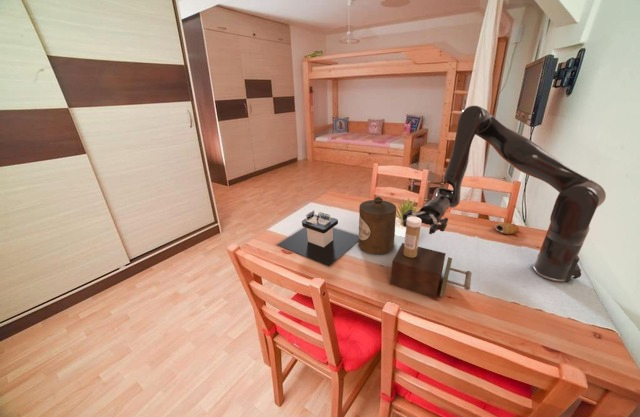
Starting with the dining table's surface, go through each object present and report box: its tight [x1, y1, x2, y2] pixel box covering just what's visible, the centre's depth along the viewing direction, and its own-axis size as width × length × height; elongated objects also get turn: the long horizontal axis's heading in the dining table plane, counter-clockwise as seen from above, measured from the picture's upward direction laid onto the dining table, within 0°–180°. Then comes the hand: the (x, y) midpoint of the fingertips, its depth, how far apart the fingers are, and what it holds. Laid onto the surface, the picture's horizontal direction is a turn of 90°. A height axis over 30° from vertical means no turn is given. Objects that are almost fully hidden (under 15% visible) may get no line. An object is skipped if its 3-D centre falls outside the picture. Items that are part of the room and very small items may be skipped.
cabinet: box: [389, 242, 447, 299], centre depth 89 cm, size 15×13×10 cm
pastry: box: [493, 221, 519, 235], centre depth 118 cm, size 9×7×4 cm
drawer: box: [439, 256, 472, 298], centre depth 86 cm, size 20×11×8 cm, turn 59°
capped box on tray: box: [277, 209, 359, 267], centre depth 114 cm, size 28×26×13 cm
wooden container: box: [358, 196, 397, 255], centre depth 108 cm, size 15×15×22 cm
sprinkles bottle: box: [403, 216, 423, 258], centre depth 86 cm, size 5×5×13 cm
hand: (417, 227), depth 87 cm, fingers open, 8 cm apart
